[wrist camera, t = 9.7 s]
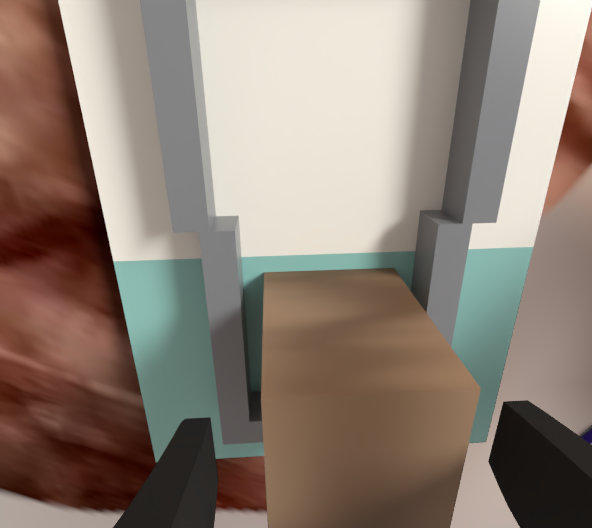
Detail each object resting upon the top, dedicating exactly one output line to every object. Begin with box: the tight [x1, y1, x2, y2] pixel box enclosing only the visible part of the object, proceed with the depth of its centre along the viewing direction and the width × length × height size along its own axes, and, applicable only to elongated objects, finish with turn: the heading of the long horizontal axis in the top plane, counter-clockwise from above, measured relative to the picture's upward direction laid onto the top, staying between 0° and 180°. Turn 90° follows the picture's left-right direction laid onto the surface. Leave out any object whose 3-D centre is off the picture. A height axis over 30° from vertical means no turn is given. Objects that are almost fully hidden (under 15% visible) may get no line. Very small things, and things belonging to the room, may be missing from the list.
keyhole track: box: [58, 0, 592, 463], centre depth 12 cm, size 14×20×2 cm
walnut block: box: [261, 268, 481, 528], centre depth 11 cm, size 4×4×6 cm
